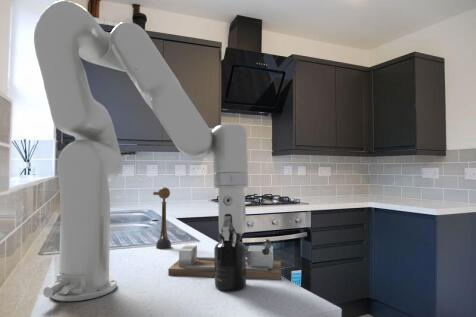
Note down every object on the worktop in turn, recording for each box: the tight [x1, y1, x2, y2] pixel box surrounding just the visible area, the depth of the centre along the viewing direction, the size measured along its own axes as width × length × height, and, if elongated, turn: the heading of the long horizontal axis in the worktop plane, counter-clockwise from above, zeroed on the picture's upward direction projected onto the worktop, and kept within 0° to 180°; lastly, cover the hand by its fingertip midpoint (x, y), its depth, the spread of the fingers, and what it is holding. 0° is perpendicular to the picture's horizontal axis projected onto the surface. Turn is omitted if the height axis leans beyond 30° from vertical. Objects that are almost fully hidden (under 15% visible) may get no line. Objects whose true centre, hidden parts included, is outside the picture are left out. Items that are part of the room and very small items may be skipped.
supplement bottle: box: [213, 231, 247, 293], centre depth 70 cm, size 7×7×12 cm
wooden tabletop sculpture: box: [152, 186, 172, 250], centre depth 107 cm, size 6×5×20 cm
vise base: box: [167, 244, 282, 280], centre depth 81 cm, size 10×27×6 cm, turn 83°
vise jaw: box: [246, 239, 274, 269], centre depth 80 cm, size 11×6×5 cm, turn 173°
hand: (232, 259), depth 70 cm, fingers open, 9 cm apart
